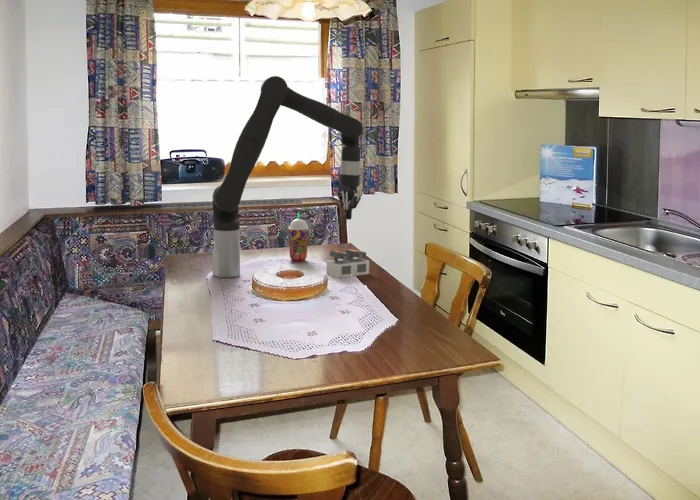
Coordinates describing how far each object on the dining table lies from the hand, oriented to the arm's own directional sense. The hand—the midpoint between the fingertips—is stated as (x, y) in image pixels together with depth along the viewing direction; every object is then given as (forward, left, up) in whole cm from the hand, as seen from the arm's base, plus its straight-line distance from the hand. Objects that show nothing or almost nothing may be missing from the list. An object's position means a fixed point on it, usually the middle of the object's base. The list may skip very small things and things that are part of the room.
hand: (347, 219), depth 258 cm
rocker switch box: (-2, -3, -20) cm, 21 cm away
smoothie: (-6, +27, -21) cm, 34 cm away
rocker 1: (-5, -3, -13) cm, 14 cm away
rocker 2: (+2, -3, -13) cm, 13 cm away
